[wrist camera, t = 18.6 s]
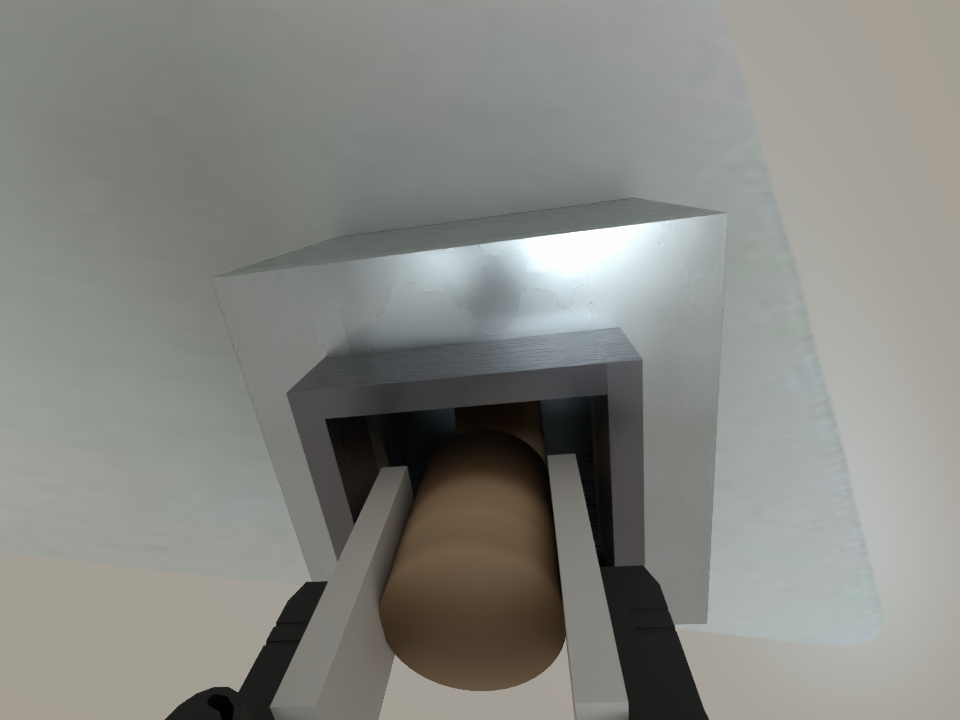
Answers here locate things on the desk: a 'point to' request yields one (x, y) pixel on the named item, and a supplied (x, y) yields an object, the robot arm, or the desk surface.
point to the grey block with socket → (500, 367)
